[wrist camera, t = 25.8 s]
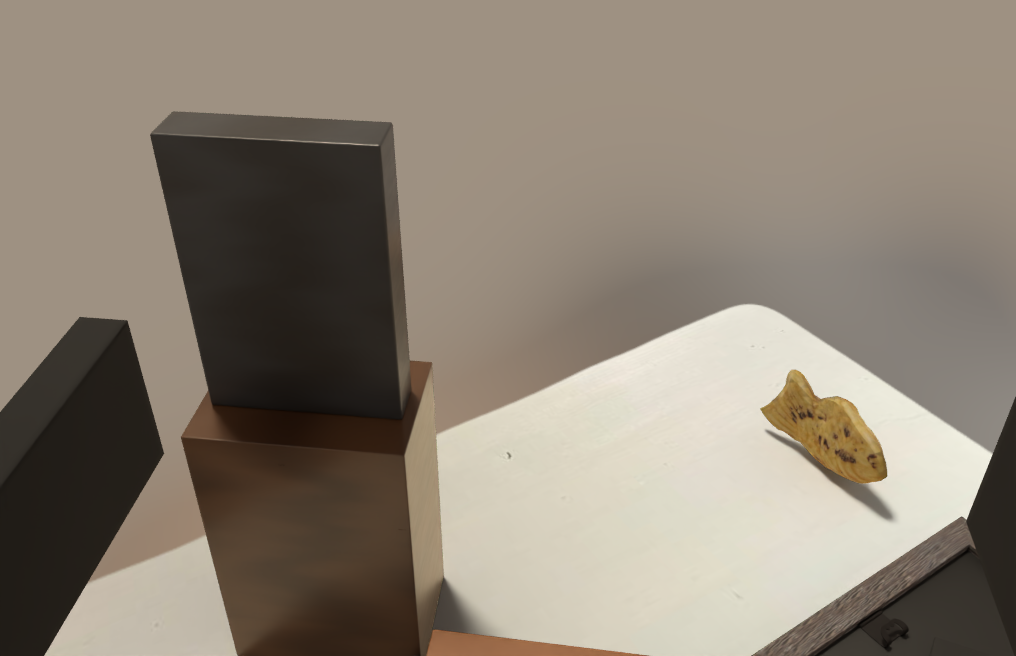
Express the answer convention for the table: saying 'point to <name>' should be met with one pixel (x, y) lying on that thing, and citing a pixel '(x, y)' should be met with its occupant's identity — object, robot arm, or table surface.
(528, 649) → the orange brown block
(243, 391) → the wooden block with slab
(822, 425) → the pastry
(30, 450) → the robot arm
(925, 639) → the picture frame
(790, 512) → the table surface
